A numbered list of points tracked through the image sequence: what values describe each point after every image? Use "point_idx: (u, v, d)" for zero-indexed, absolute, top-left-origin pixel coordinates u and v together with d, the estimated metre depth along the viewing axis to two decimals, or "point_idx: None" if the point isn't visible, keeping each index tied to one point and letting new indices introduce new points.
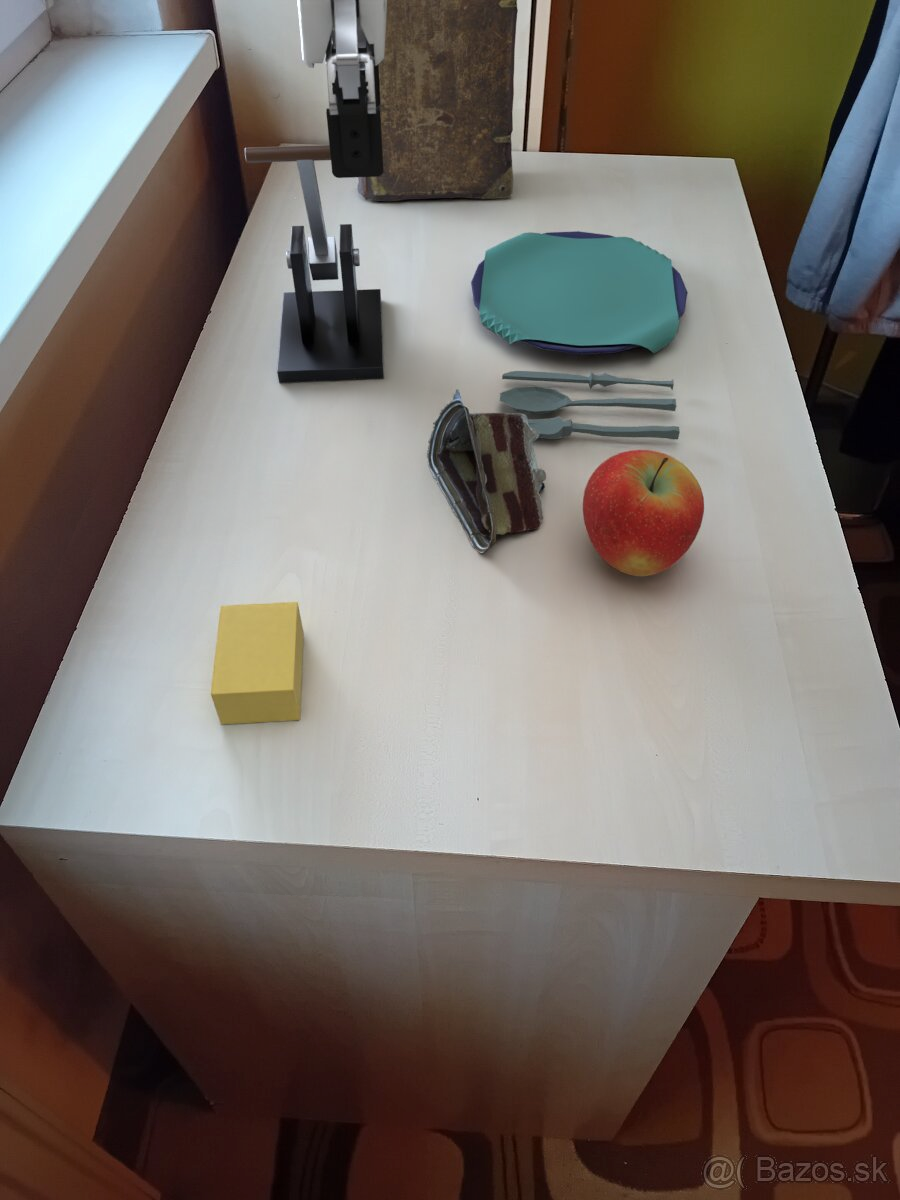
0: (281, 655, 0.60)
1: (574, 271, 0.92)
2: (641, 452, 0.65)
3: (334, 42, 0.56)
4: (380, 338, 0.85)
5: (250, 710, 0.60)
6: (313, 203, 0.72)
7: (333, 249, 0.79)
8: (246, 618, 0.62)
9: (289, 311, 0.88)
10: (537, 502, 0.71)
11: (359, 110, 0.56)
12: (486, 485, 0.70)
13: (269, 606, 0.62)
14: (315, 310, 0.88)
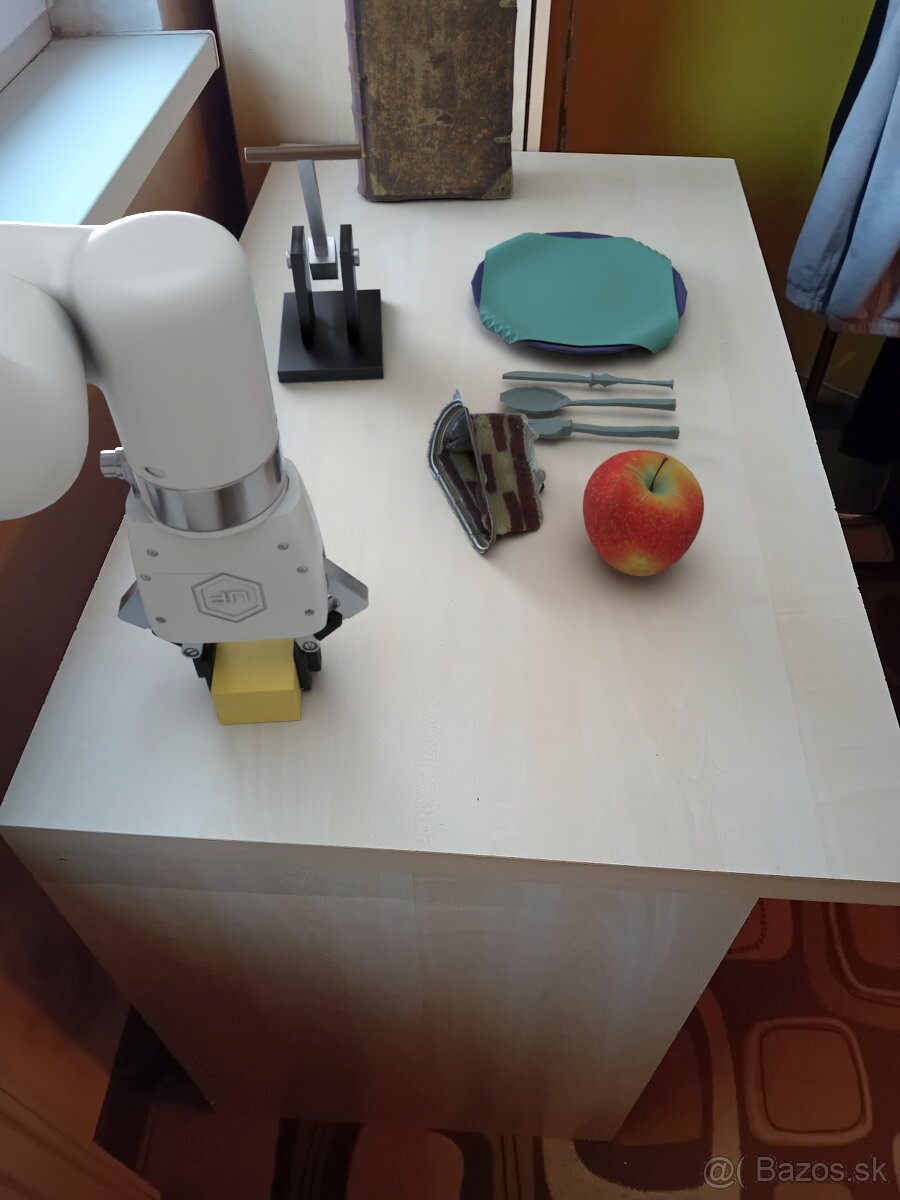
0: (281, 655, 0.60)
1: (574, 271, 0.92)
2: (641, 452, 0.65)
3: None
4: (380, 338, 0.85)
5: (250, 710, 0.60)
6: (313, 203, 0.72)
7: (333, 249, 0.79)
8: None
9: (289, 311, 0.88)
10: (537, 502, 0.71)
11: None
12: (486, 485, 0.70)
13: None
14: (315, 310, 0.88)
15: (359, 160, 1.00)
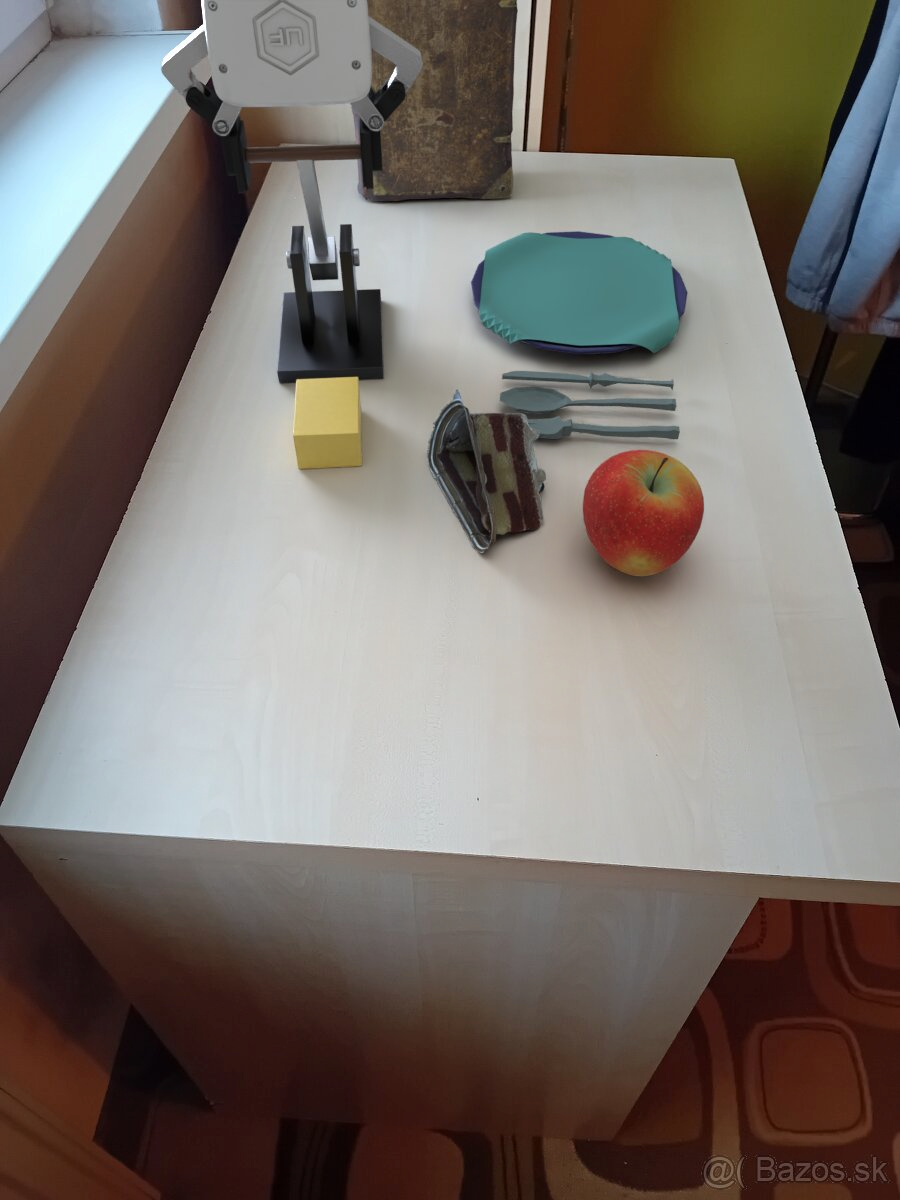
0: (347, 411, 0.75)
1: (574, 271, 0.92)
2: (641, 452, 0.65)
3: None
4: (380, 338, 0.85)
5: (323, 454, 0.75)
6: (313, 203, 0.72)
7: (333, 249, 0.79)
8: (317, 387, 0.77)
9: (289, 311, 0.88)
10: (537, 502, 0.71)
11: None
12: (486, 485, 0.70)
13: (335, 379, 0.78)
14: (315, 310, 0.88)
15: (359, 160, 1.00)
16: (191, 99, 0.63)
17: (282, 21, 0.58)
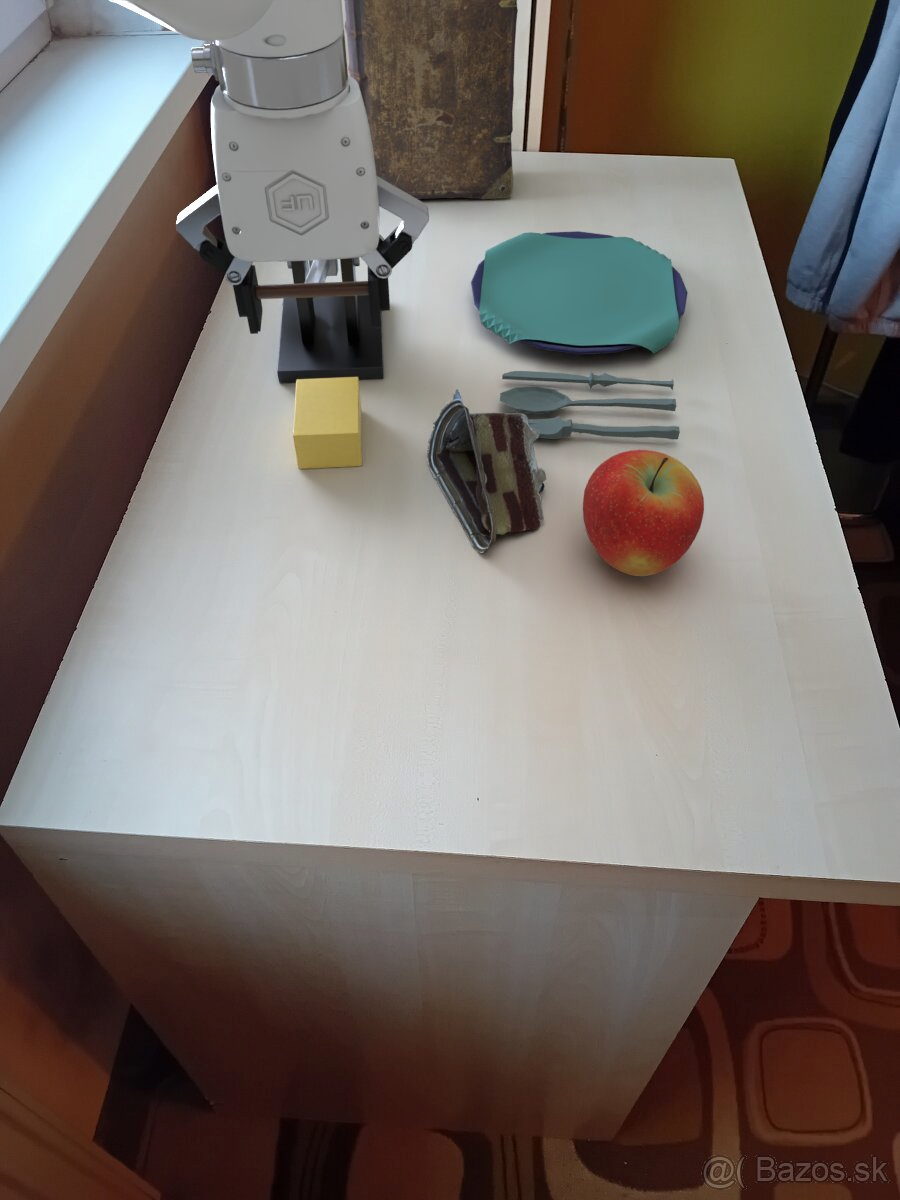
0: (347, 411, 0.75)
1: (574, 271, 0.92)
2: (641, 452, 0.65)
3: None
4: (380, 338, 0.85)
5: (323, 454, 0.75)
6: None
7: (334, 261, 0.80)
8: (317, 387, 0.77)
9: (289, 311, 0.88)
10: (537, 502, 0.71)
11: None
12: (486, 485, 0.70)
13: (335, 379, 0.78)
14: (315, 310, 0.88)
15: None
16: (204, 253, 0.65)
17: (293, 189, 0.60)
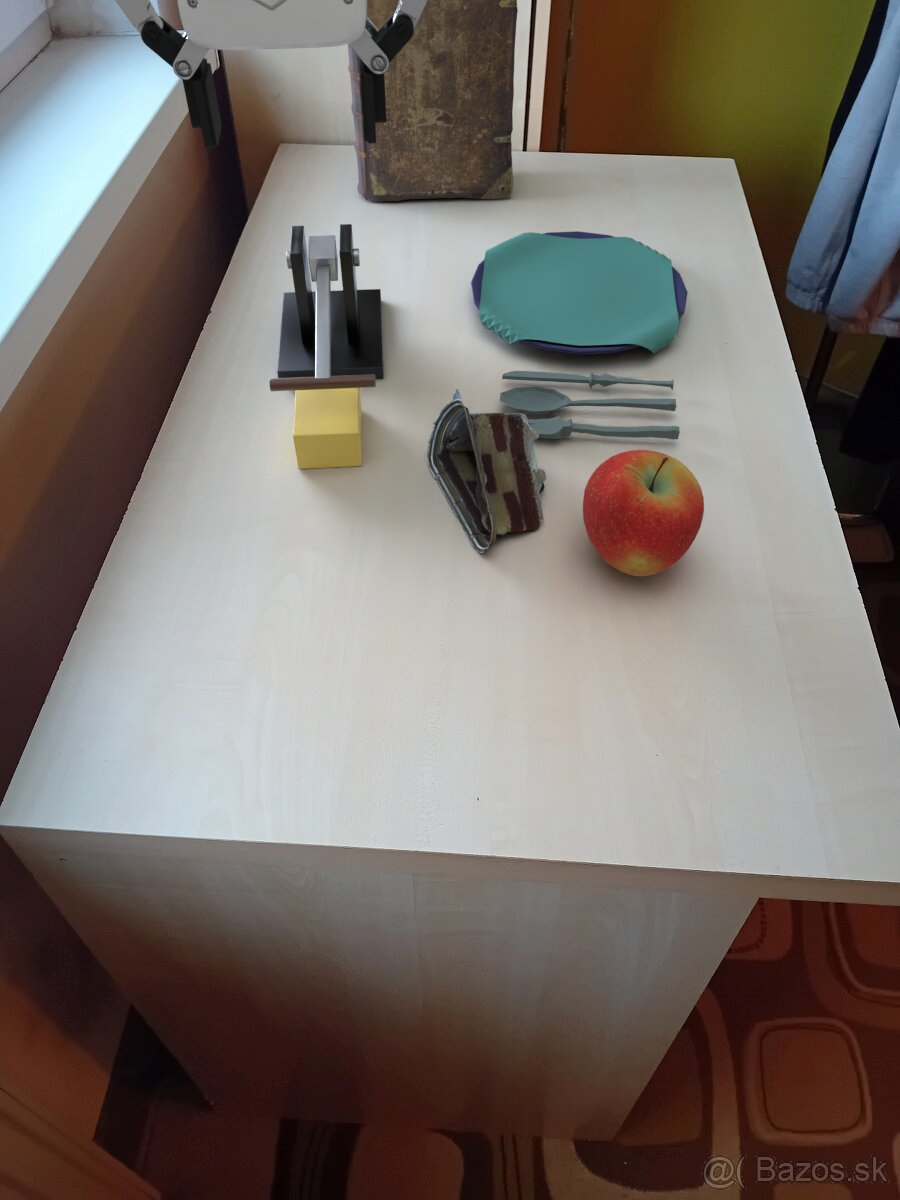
0: (347, 411, 0.75)
1: (574, 271, 0.92)
2: (641, 452, 0.65)
3: None
4: (380, 338, 0.85)
5: (323, 454, 0.75)
6: None
7: (335, 270, 0.80)
8: None
9: (289, 311, 0.88)
10: (537, 502, 0.71)
11: None
12: (486, 485, 0.70)
13: None
14: (315, 310, 0.88)
15: (359, 160, 1.00)
16: (147, 35, 0.54)
17: None
